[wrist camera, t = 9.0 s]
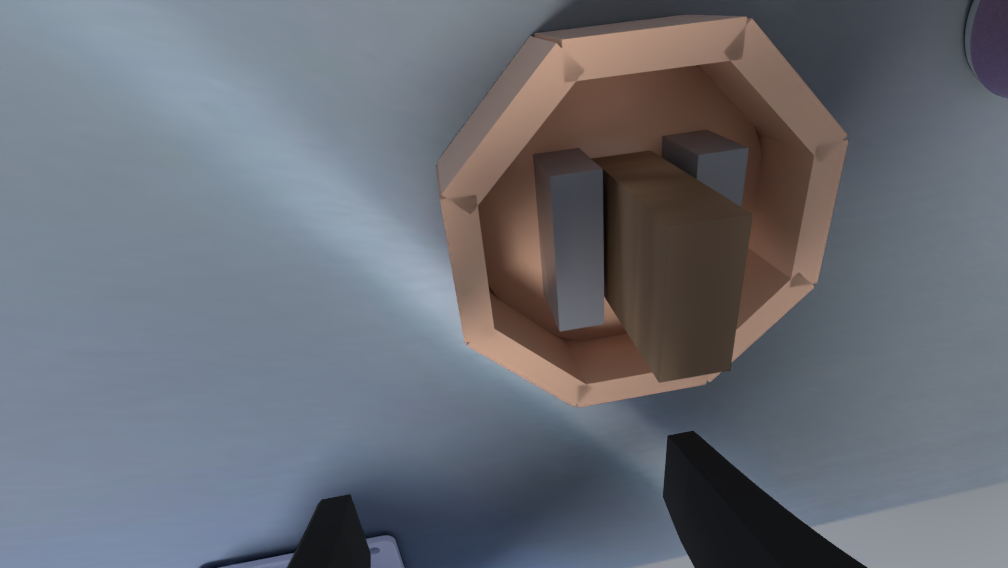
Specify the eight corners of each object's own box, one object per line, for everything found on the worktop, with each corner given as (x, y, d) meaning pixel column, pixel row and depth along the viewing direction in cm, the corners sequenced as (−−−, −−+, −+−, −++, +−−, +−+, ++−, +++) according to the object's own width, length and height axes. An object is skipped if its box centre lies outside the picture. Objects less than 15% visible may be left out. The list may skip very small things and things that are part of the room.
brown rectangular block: (592, 279, 19) (658, 383, 14) (591, 158, 17) (668, 226, 12) (645, 271, 19) (730, 370, 14) (650, 150, 17) (753, 214, 12)
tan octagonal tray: (470, 365, 21) (478, 425, 18) (416, 48, 15) (415, 57, 12) (746, 317, 22) (798, 367, 19) (793, 1, 16) (879, -1, 13)
